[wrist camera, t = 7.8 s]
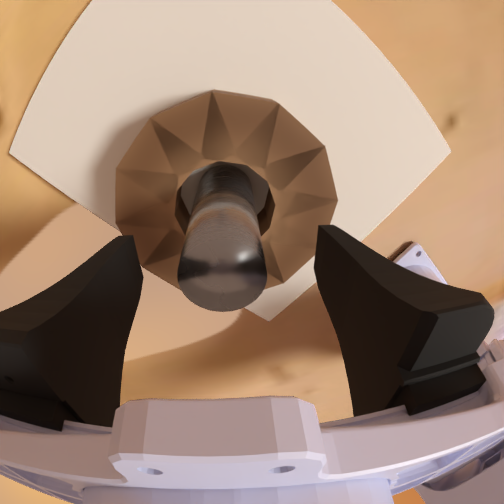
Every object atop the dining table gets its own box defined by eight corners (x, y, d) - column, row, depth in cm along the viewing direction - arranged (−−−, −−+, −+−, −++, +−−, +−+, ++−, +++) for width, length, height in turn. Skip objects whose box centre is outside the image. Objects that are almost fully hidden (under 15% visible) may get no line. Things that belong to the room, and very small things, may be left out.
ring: (357, 181, 17) (374, 198, 15) (237, 297, 21) (238, 322, 19) (210, 50, 13) (207, 46, 11) (97, 208, 17) (81, 228, 15)
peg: (262, 187, 17) (285, 273, 10) (228, 224, 18) (228, 323, 11) (221, 153, 16) (213, 221, 9) (187, 194, 17) (160, 283, 10)
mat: (444, 147, 17) (451, 151, 16) (267, 314, 24) (269, 321, 23) (188, -87, 8) (187, -93, 7) (15, 149, 15) (8, 152, 14)
